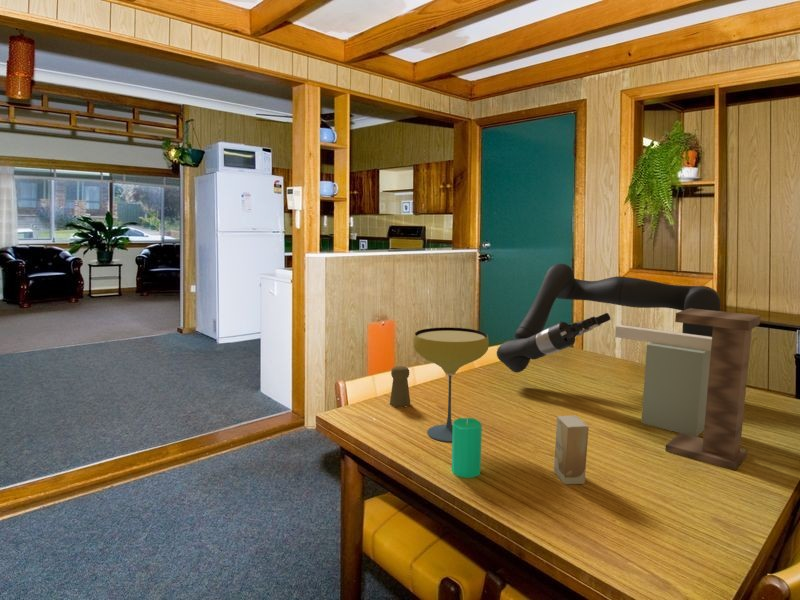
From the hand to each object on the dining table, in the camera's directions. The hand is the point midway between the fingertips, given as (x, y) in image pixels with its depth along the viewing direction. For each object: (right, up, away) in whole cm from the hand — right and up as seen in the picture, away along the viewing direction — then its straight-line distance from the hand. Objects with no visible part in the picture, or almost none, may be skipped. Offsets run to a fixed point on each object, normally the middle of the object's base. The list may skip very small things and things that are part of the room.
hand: (602, 317), depth 150 cm
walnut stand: (+13, -30, -28) cm, 43 cm away
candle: (-43, -31, -37) cm, 65 cm away
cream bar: (+12, -6, -11) cm, 18 cm away
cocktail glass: (-44, -28, -17) cm, 55 cm away
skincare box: (-22, -32, -40) cm, 56 cm away
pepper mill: (-56, -25, +5) cm, 62 cm away
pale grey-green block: (+15, -27, -11) cm, 33 cm away
